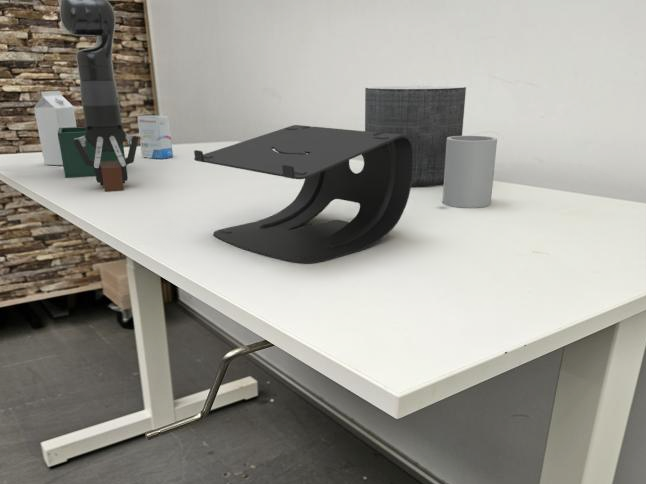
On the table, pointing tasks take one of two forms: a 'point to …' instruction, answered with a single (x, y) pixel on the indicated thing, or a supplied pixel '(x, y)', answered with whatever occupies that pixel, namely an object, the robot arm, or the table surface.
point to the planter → (418, 122)
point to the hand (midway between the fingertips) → (112, 183)
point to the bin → (72, 157)
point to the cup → (469, 171)
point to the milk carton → (53, 124)
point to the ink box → (155, 136)
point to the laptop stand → (322, 189)
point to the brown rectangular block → (112, 176)
